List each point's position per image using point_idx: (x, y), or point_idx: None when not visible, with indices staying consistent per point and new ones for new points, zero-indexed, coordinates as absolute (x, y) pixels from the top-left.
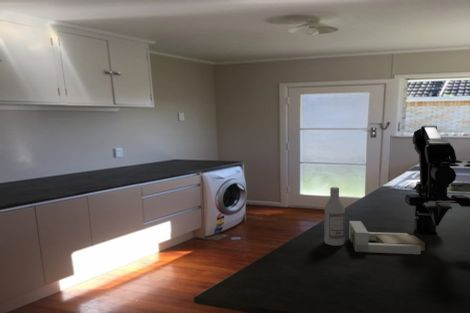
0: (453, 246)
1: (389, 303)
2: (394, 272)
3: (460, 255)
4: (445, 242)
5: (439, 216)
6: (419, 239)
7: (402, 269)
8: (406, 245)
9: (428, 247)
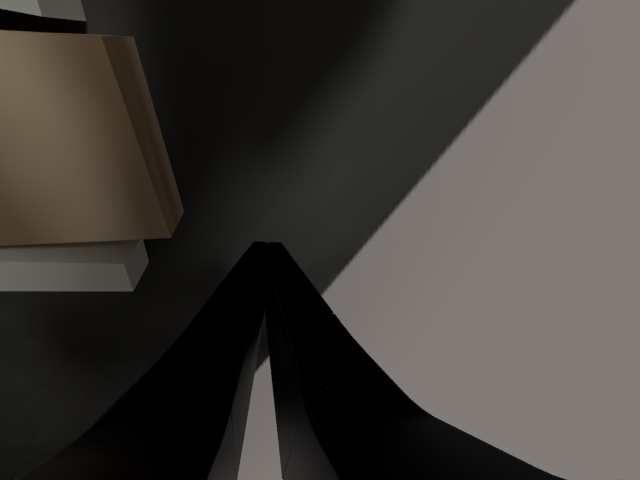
0: (385, 145)
1: None
2: (29, 393)
3: (331, 261)
4: (392, 57)
5: (274, 395)
6: (145, 171)
7: (57, 376)
8: (38, 282)
9: (223, 163)
